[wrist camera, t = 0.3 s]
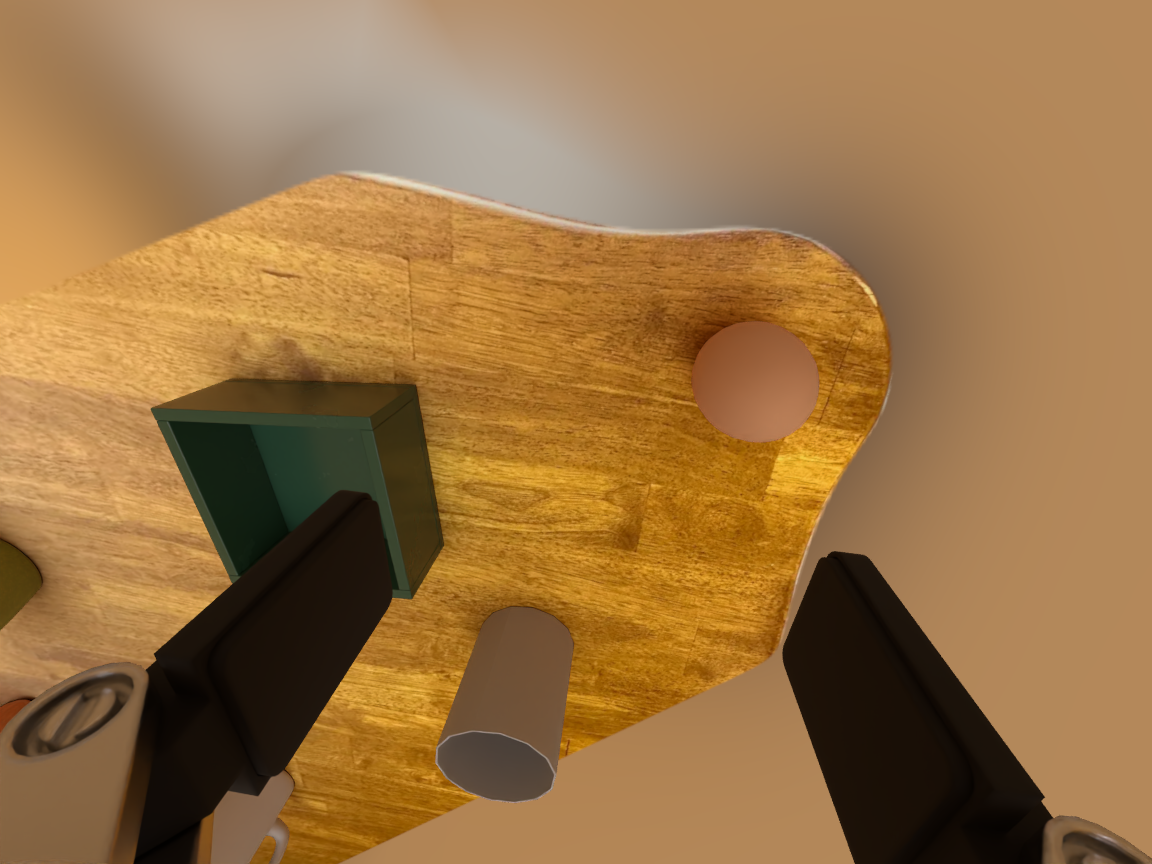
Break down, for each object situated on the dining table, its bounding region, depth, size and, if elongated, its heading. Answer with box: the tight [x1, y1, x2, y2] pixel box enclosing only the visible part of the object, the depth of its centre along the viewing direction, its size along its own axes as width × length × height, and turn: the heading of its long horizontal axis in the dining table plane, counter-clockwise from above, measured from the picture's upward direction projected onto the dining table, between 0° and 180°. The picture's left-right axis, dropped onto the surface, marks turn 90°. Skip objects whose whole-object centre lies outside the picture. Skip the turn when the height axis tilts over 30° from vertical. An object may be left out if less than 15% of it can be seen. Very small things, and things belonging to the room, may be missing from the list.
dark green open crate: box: [151, 379, 444, 599], centre depth 29 cm, size 14×14×6 cm
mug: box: [211, 770, 294, 864], centre depth 50 cm, size 12×8×11 cm
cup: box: [436, 607, 574, 803], centre depth 33 cm, size 8×8×10 cm
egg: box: [691, 321, 819, 442], centre depth 21 cm, size 6×6×8 cm
